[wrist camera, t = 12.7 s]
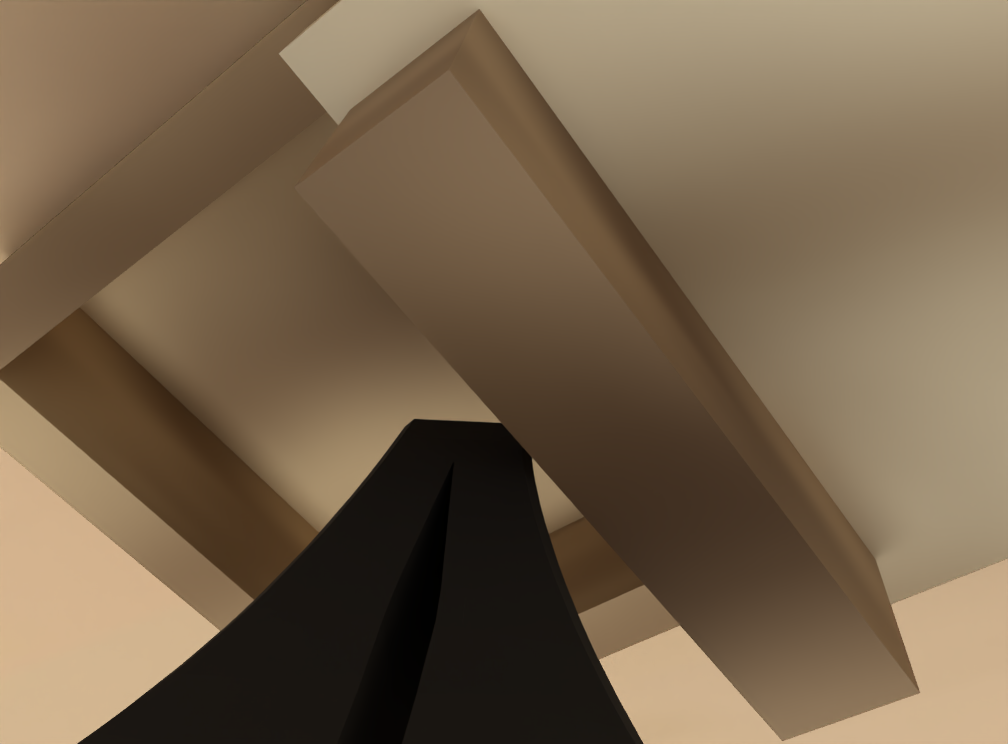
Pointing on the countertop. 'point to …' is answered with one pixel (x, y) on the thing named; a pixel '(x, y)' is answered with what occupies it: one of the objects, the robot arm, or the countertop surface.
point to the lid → (709, 289)
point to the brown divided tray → (236, 359)
